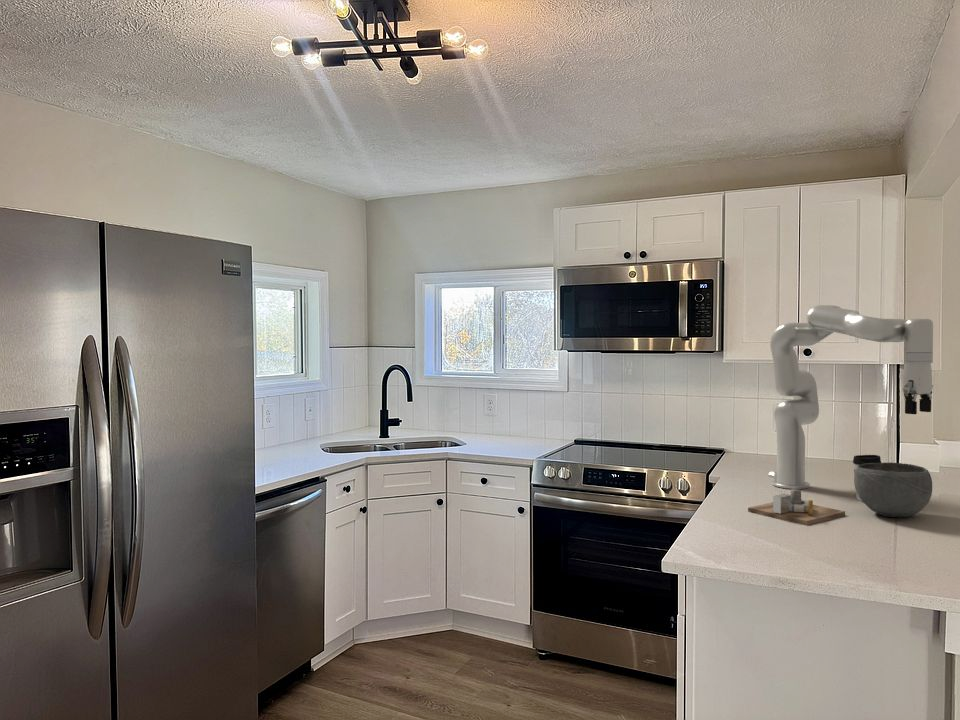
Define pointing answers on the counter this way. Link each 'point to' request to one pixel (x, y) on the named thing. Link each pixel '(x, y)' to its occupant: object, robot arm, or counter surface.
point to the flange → (788, 504)
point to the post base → (805, 518)
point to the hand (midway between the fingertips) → (918, 412)
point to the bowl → (893, 488)
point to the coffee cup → (863, 460)
